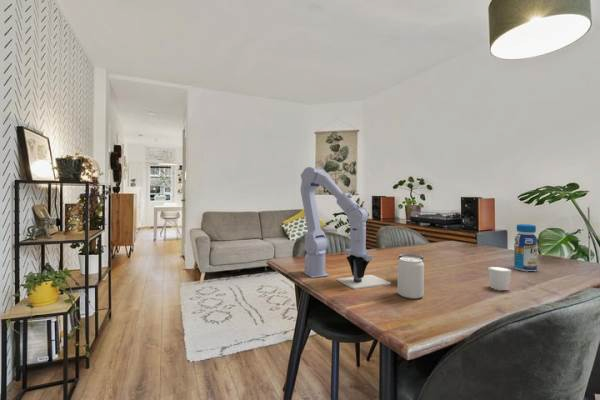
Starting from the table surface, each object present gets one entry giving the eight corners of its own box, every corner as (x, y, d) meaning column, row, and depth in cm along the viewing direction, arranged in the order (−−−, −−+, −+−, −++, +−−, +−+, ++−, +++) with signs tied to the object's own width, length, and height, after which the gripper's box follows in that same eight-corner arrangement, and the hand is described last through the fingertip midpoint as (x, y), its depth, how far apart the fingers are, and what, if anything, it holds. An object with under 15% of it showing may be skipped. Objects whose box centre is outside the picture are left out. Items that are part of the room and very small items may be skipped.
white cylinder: (507, 286, 108) (507, 267, 108) (514, 292, 101) (514, 271, 101) (485, 284, 110) (485, 265, 110) (490, 290, 104) (491, 270, 103)
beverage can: (421, 301, 92) (421, 263, 92) (394, 296, 97) (395, 259, 96) (425, 294, 99) (426, 258, 99) (400, 289, 103) (401, 255, 103)
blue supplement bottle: (516, 266, 138) (516, 223, 138) (539, 269, 132) (540, 224, 131) (511, 269, 132) (512, 224, 132) (535, 273, 126) (536, 226, 126)
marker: (351, 280, 112) (352, 259, 112) (358, 279, 113) (358, 259, 113) (356, 283, 109) (356, 261, 109) (363, 282, 110) (363, 260, 110)
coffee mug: (425, 285, 108) (425, 258, 108) (400, 284, 110) (400, 257, 109) (419, 277, 119) (419, 252, 119) (396, 276, 121) (396, 251, 121)
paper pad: (337, 280, 115) (337, 278, 115) (371, 276, 121) (371, 274, 121) (354, 289, 104) (354, 287, 104) (391, 284, 110) (391, 282, 110)
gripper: (338, 238, 116) (338, 272, 116) (360, 243, 103) (359, 282, 103) (354, 237, 119) (353, 270, 119) (376, 242, 105) (376, 280, 106)
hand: (357, 276), depth 111 cm, fingers closed on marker, 3 cm apart
